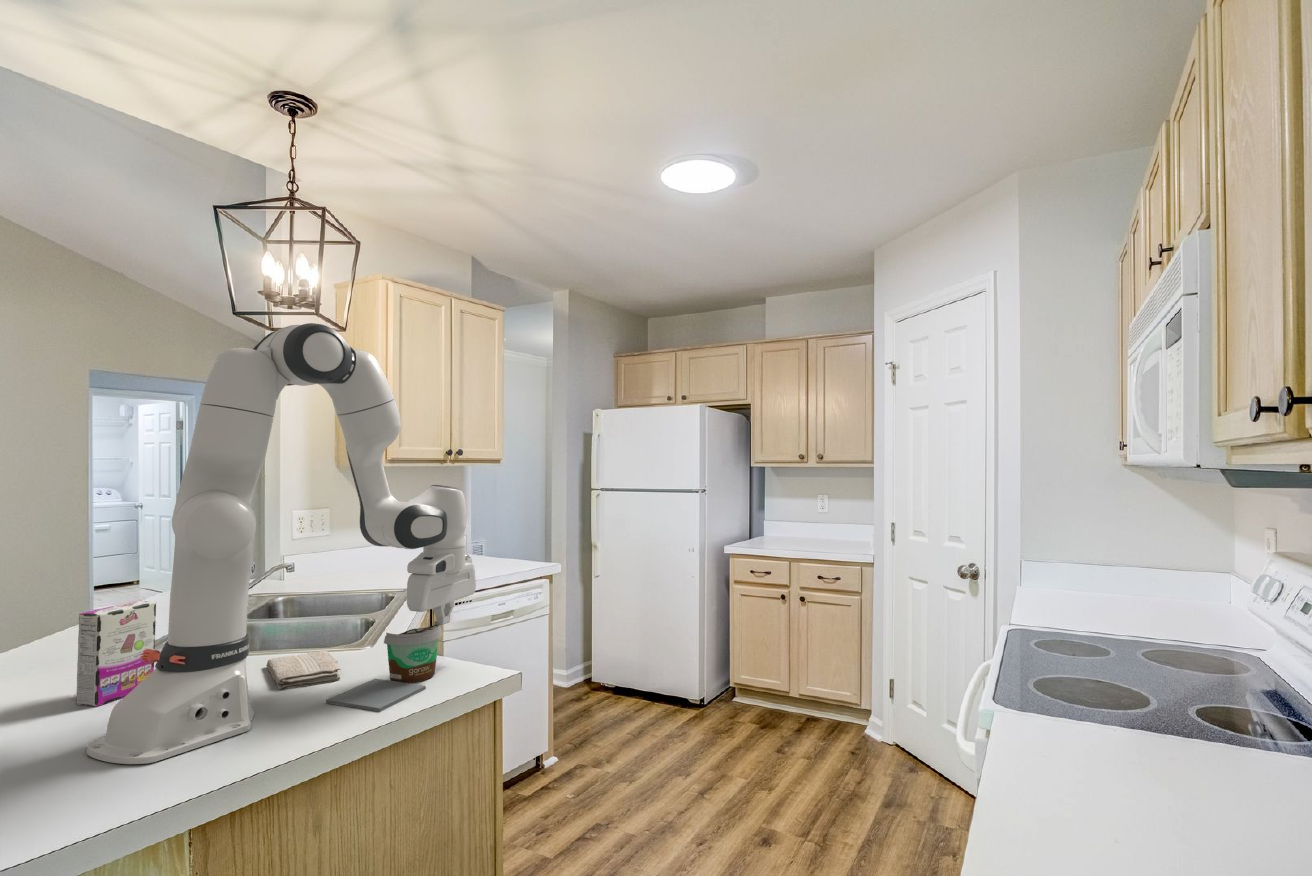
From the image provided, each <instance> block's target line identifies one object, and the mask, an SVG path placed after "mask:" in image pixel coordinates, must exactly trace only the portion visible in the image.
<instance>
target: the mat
mask: <svg viewBox="0 0 1312 876" xmlns="http://www.w3.org/2000/svg"><path fill="white" fill-rule="evenodd" d="M426 687H427V686H426V685H425V684H424V685H421V684H415V683H403V682H396V681H390V679H389V680H388V679H382V678H381V679H380V678H373V679H371V680H369V681H366V682H364V683H361V684H359V685H357V686H354V687H351V688H350V689H348V690H345V691H342V692H339V693H337V694H336V695H333V696H331V697H329V698H326V699H325V703H326V704H332V705H336V704H338V705H337V706H342V705H343V706H344V707H348V706H349V708H356V709H360V708H362V709H361V710H366V709H367V710H368V711H372V712H373V711H374V712H382V711H383V710H386V709H388V708H390V707H393V706H394V705H396V704H399V703H400V702H402V701H404V700H406V699H408V698H410V697H413V696H414V695H416V694H418V693H420V692H422V691H424V690H426V689H427V688H426Z"/></svg>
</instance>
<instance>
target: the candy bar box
mask: <svg viewBox="0 0 1312 876" xmlns="http://www.w3.org/2000/svg"><path fill="white" fill-rule="evenodd" d="M156 610H157V602H155V601H145V600H136V601H131V602H126V603H122V604H116V605H113V606H109V607H108V606H107V607H104V608H103V607H102V608H100V609H99V608H98V609H93V610H89V611H86V612H80V613H79V614H78V637H77V638H78V640H77V643H78V644H77V668H76V669H77V672H76V694H75V695H76V696H75V697H76V698H75V701H76V702H75V704H76V705H78V704H80V705H79V706H85V705H86V706H87V707H100V706H102V705H106V704H109V703H112V702H114V700H115V701H117V700H116V699H118V700H121V699H123V698H124V697H125V696H126V695H127V694H128V693H130V692H131V691H132V690H133V689H134V688H135V687H136V686H137V685H139V684H140V683H141V682H142V681H143V680H144V679H145V678H146V677H147V676H148V675H149V674H151V673H152V672H153V671H154V670H155V663H150V662H143V661H144V660H141V659H142V658H140V656H143V655H141V654H142V653H145V652H143V651H144V650H146V649H152V650H156V649H155V646H156V645H155V643H156V642H155V641H156V623H157V622H156V617H157V616H156V615H157V611H156ZM111 701H112V702H111Z"/></svg>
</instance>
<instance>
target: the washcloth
mask: <svg viewBox="0 0 1312 876" xmlns="http://www.w3.org/2000/svg"><path fill="white" fill-rule="evenodd" d="M266 667H267V670H268V672H269V673H270V675H271V677H272V679H273V680H274V682H275V685H276V683H277V685H276V687H278V688H277V690H279V691H281V690H282V688H283V689H294V688H293V687H296V688H300V687H301V688H302V686H303V687H307V685H308V686H312V684H314V685H319V684H318V683H321V684H325V683H324V682H327V683H331V682H332V683H333V682H337V681H339V680H340V679H341V676H340V674H339V670H341V667H340V665H339V660H338V659H336V658H335V657H334V656H333V655H332V654H331V653H330V652H329V651H328V650H319V651H310V652H307V653H304V654H298V655H290V656H289V655H288V656H280V657H274V658H269V659H267V663H266Z"/></svg>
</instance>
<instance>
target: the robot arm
mask: <svg viewBox="0 0 1312 876" xmlns="http://www.w3.org/2000/svg"><path fill="white" fill-rule="evenodd" d="M207 377H208V378H207V380H206V382H205V385H204V388H203V392H202V395H201V399H200V404H199V406H198V412H197V417H196V422H195V424H194V429H193V434H192V439H191V443H190V447H189V451H188V456H187V459H186V463H185V466H184V470H183V474H182V477H181V481H180V484H179V485H180V486H179V488H178V493H177V497H176V501H175V505H174V508H173V511H172V516H171V528H172V531H173V534H174V549H173V550H174V551H173V552H174V553H173V563H172V576H171V584H170V585H171V586H170V593H169V611H168V629H167V630H168V632H167V633H168V634H167V641H165V643H164V644H163V647H162V649H161V651H160V650H158V649H155V650H152V649H146V650H144V651H143V652H145V653H142V654H141V655H143V656H140V658H142V659H141V660H144V661H143V662H150V663H154V671H153V672H152V673H151V674H149V675H148V676H147V677H146V678H145V679H144V680H143V681H142V682H141V683H140V684H139V685H137V686H136V687H135V688H134V689H133V690H132V691H131V692H130V693H128V694H127V695H126V696H125V697H123V698H121V699H119V701H118V702H117V703H116V704H115V705H114V707H113V708H112V710H111V712H110V715H109V718H108V722H107V726H106V733H105V735H103V736H101V737H98V738H95V739H94V740H91V741H89V742H88V743H87V744H86V749H85V753H86V754H87V755H88V756H89V757H91V758H93V759H95V760H98V761H103V762H108V763H112V764H123V765H141V764H142V765H143V764H145V765H146V764H152V763H156V762H158V761H161V760H164V759H168V758H171V757H174V756H176V755H179V754H183V753H186V752H188V751H192V750H194V749H197V748H200V747H203V746H207V745H210V744H213V743H215V742H219V741H221V740H222V741H223V740H225V739H228V738H230V737H234V736H237V735H239V734H243V733H245V732H248V731H250V730H251V728H252V725H251V721H252V720H253V718H254V717H255V716H254V715H255V713H254V710H253V707H252V703H251V699H250V694H249V687H248V678H247V657H248V656H249V651H250V635H249V633H247V628H248V627H247V625H248V608H249V607H248V604H249V587H250V586H249V585H250V580H251V574H252V568H253V563H254V562H253V561H254V554H255V553H254V552H255V545H256V534H257V517H256V513H255V511H254V509H253V508H252V507H251V504H252V500H253V497H254V495H255V490H256V486H257V484H258V480H259V477H260V474H261V471H262V468H263V467H264V463H265V461H266V455H267V451H268V447H269V441H270V437H271V432H272V427H273V422H274V417H275V413H276V412H275V411H276V405H277V400H278V399H279V396H280V394H281V392H282V391H283V390H284V388H285V387H286V386H288V387H289V386H300V387H304V386H312V385H319V386H321V387H322V388H323V389H324V390H325V391H326V392H327V394H328V395H329V397H330V399H331V401H332V404H333V407H334V410H335V413H336V415H337V418H338V421H339V422H338V423H339V425H340V428H341V431H342V435H343V437H344V440H345V441H344V442H345V448H346V454H347V458H348V459H347V460H348V463H349V466H350V467H349V468H350V472H351V475H352V478H353V482H354V485H355V486H354V487H355V489H356V493H357V497H358V500H359V511H360V512H359V529H360V532H361V534H362V536H363V538H364V540H366V542H367V543H370V545H373V546H375V547H392V548H396V549H404V550H417V549H421V548H422V549H423V551H422V552H420V553H419V555H417V556H416V557H415V558H414V559H413V560H411V561H409V562H408V564H407V565H406V570H407V573H408V574H410V575H409V576H408V579H407V581H406V605H407V608H408V609H409V611H411V612H417V613H418V612H419V613H425V612H427V611H429V610H432V611H433V614H434V615H435V619H436V620H435V621H436V622H438V623H439V625H440V626H444V625H446V624H449V623H450V622H451V614H452V613H453V610H454V609H453V608H454V606H455V602H456V601H458V600H461V599H464V598H466V597H469V596H472V595H474V594H475V592H476V588H477V587H476V586H477V585H476V584H477V583H476V581H477V580H476V579H477V578H476V569H475V565H474V564H473V559H472V557H471V556H470V555H469V554H466V551H467V548H466V547H467V546H466V545H467V544H466V539H465V531H466V529H467V504H466V497H465V494H464V492H463V491H462V490H461V489H459V488H458V487H455V486H454V487H453V486H449V485H442V484H432V485H429V486H428V487H427V488H426V490H424V491H423V492H421V493H420V494H418V495H417V496H415V497H414V498H410V499H408V500H407V501H399V500H398V499H397V498H395V497H394V496H393V494H392V493H391V490H390V487H389V486H390V485H389V483H388V478H387V476H386V471H385V468H384V467H385V466H384V463H383V457H384V453H385V451H386V449H388V448H389V446H391V445H392V444H393V443H394V442H395V440H397V438H398V436H399V434H400V432H401V429H402V421H401V414H400V410H399V407H398V404H397V402H396V399H395V396H394V394H393V393H394V392H393V391H392V388H391V385H390V382H389V380H388V379H387V376H386V375H385V373H384V371H383V369H382V366H381V365H380V363H379V361H378V360H377V358H376V356H374V355H373V354H371V353H370V352H368V351H365V350H360V349H359V350H358V349H354V347H353V348H352V347H351V345H350V344H348V343H347V341H346V340H345V338H344V337H343V336H342V335H341V334H340V333H339V332H337V331H336V330H335V329H334V328H332V327H329V325H324V324H321V323H312V322H311V323H310V322H309V323H304V324H292V325H288V326H285V327H282V328H280V329H277V330H274V331H272V332H270V333H268V334H266V335H265V336H264V337H263V338H262V339H260V341H259V342H258V343H257V344H256V345H255V346H254V347H253V348H250V347H233V348H228V349H225V350H224V351H222V352H221V353H219V355H218V356H217V357H216V360H215V361H214V363H213V366H212V367H211V370H210V372H209V374H208V376H207Z"/></svg>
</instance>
